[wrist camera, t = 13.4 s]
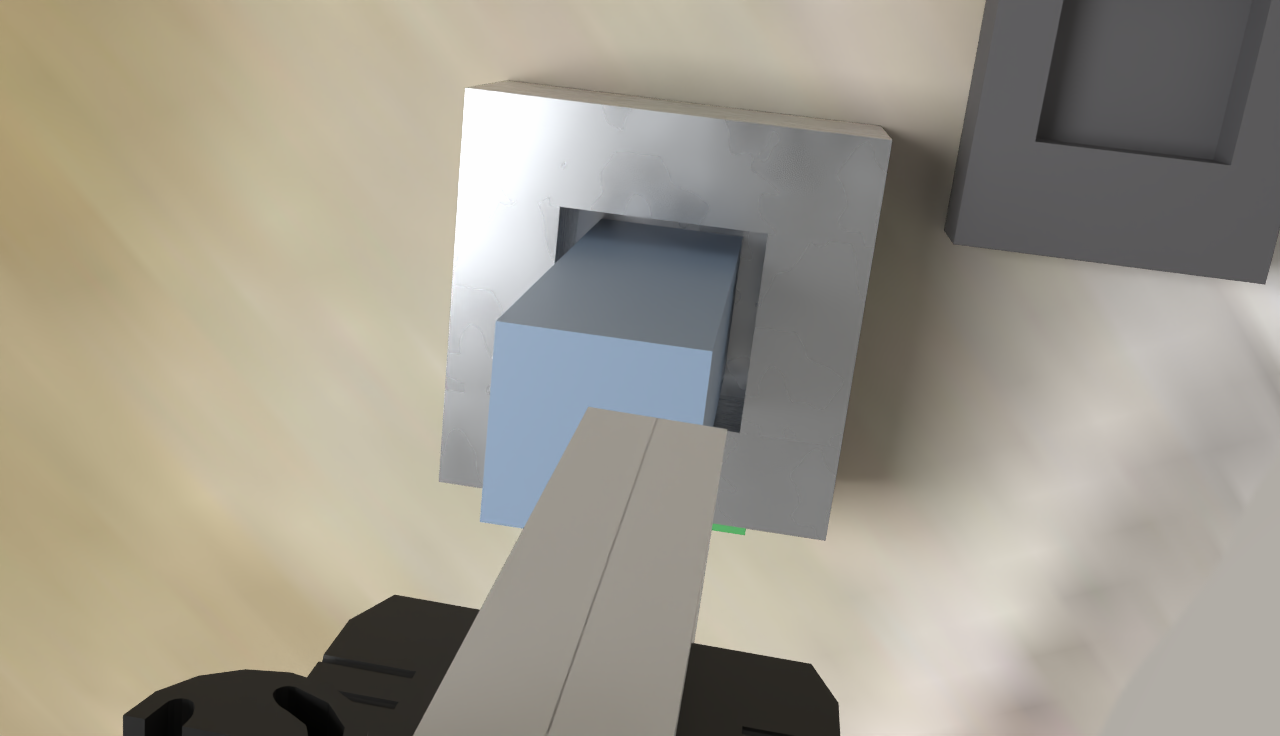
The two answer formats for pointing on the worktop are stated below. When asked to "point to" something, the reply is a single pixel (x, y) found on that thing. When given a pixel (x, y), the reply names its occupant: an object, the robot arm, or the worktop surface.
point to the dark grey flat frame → (1125, 135)
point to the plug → (606, 349)
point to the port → (693, 200)
